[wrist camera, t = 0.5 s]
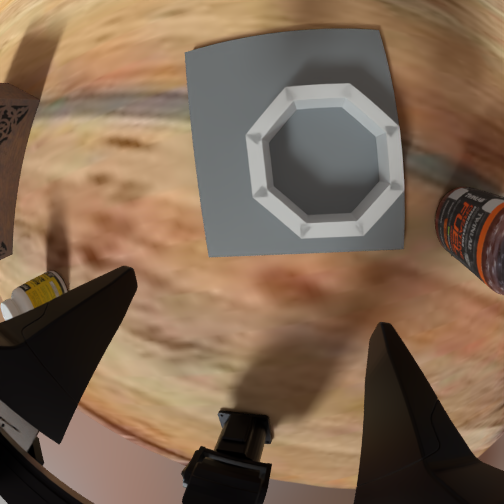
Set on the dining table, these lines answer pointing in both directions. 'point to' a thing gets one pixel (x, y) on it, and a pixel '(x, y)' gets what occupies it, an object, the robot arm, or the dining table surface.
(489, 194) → the supplement bottle
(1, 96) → the tissue box cover
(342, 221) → the collar mount
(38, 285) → the supplement bottle
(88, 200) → the dining table surface
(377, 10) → the dining table surface
